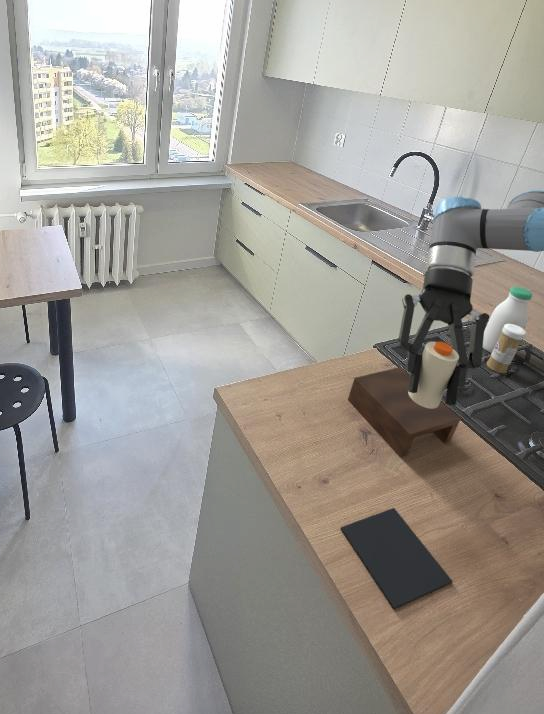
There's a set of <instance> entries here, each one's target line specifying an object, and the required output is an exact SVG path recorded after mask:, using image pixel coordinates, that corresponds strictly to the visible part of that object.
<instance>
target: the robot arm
mask: <svg viewBox="0 0 544 714" xmlns="http://www.w3.org/2000/svg"><path fill="white" fill-rule="evenodd" d="M431 223H432V225H431V234H430V242H429V246H428V247H429V248H428V254H427V259H426V266H425V269H426V271H425V272H424V276H423V284H422V289H421V292H420V294H418V295H411V293H410V294H409V293H407V294H405V295H404V296H403V297H402V299H401V301H402V307H403V313H402V318H401V324H400V328H399V329H400V330H399V332H398V333H399V334H398V339H397V347H398V348H400V349H402V350H403V351H405V352H406V353H407V356H406V362H405V363H406V364H405V371H406V372H408V373H409V372H410V375H411V378H410V385H409V391H408V392H411V393H417V390H418V383H419V376H420V370H421V363H422V354H419V353H418V352H419V350H420V349H421V348H422V345H423V343H424V341H425V339H426V337H427V335H428V333H429V331H430V329H431V327H432V325H433V323H434V322H435V321H436V322H437V321H438V322H442V323H444V324H446V325H447V327H448V328H447V329H448V330H449V333H450V335H449V336H450V341H451V347H452V348H453V349H454V350H455V351H456V352H457V353H458V355H459V359H458V362H457V364H456V366H455V369H454V371H453V373H452V376H451V378H450V380H449V383H448V385H447V387H446V396H445V404H444V405H448V406H456V405H457V397H458V390H459V388H464V387H465V385H466V381H467V380H466V379H467V371H468V370H469V369H471V370H472V369H477V368H481V366H482V359H483V350H484V348H483V338H484V331H485V328H486V326H487V324H488V322H489V319H490V315H489V314H488V313H486V312H483V313H481V312H480V311H478V310H476V309H474V306H473V304H472V302H471V297H472V290H473V282H474V280H473V276H474V273H475V266H476V265H475V264H476V256H477V250H478V249H484V250H485V249H487V250H505V251H506V250H507V251H524V252H525V251H528V252H535V253H539V252H544V190H541V189H540V190H539V189H538V190H537V189H531V190H526V191H524V192H522V193H520V194H518V195H516V196H515V197H514V198H512V199H511V201H510V202H509V204H508V205H507V207H506V208H489V209H488V208H482V205H481V203H480V202H479V201H478V200H476V199H474V198H471V197H463V196H457V195H456V196H450V197H445V198H444V199H441V200H440V201H439V202H438V203H437V205H436V207H435V211H434V216H433V218H432V222H431ZM418 303H419V305H420V306H421V308H422V309H423V311H424V313H425V314H424V316H423V317H422V320H421V323H420V325H419V327H418V329H417V330H416V333H415V335H414V337H413V338H412V340H411V343H410V342H409V340H410V335H411V329H412V324H413V317H414V313H415V307H417V306H418ZM468 315H469V317H470V320H469V321H470V322H471V323H472V324H471V327H470V336H469V337H470V339H469V345H468V346H469V347H468V355H467V349H466V344H465V338H464V337H465V336H464V333H463V318H465V317H467V316H468Z"/></svg>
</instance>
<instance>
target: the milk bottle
mask: <svg viewBox="0 0 544 714" xmlns="http://www.w3.org/2000/svg"><path fill="white" fill-rule="evenodd" d="M532 298H533V293H532V292H531V291H530V290H529V289H527V288H524V287H522V286H512V287H511V288H510V290H509V293H508V297H507V298H506V299H505V300H503V301H502V302H500V303H499V304H498V305H497V306H496V307H494V309H493V311H492V313H491V315H490V316H489V320H488V321H487V323H486V325H485V327H484V338H483V350H485V351H486V352H489V353H490V354H491V353H492V351H493V349H494V347H495V345H496V343H497V342H498V340H499V338H500V336H501V334H502V329H503V327H504V325H505V324H514V325H517V326H519V327H521V328H522V329H524V330H525V329H526V326H527V324H528V321H529V311H528V303H529V302H530V301H531V299H532Z"/></svg>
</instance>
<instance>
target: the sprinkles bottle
mask: <svg viewBox="0 0 544 714" xmlns="http://www.w3.org/2000/svg"><path fill="white" fill-rule="evenodd" d="M526 335H527V332H526V330H525V329H522V328H521V327H519V326H517V325H514V324H505V325H504V327H503V329H502V334H501V336H500V338H499V340H498V342H497V343H496V345H495V347H494V349H493V351H492V353H490V356H489V358H488V360H487V361H486V366H487V368H489V369H490V370H491V371H493V372H495V373H500V374H506V373H507V372H508V368H509V366H510V364H511V363H512V361H513V360H514V357H515V355H516V353H517V352H518V350H519V347H520V345H521V343H522V341H523V340H524V339H525V337H526Z"/></svg>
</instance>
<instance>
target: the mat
mask: <svg viewBox="0 0 544 714" xmlns="http://www.w3.org/2000/svg"><path fill="white" fill-rule="evenodd" d="M340 530H341V532H342V533H343V535H344V536H345V538H346V540H347V541H348V543H349V544H350V545H351V547H352V549H353V550H354V552H355V553H356V555H357V556H358V558H359V559H360V561H361V562H362V564H363V565H364V567H365V569H366V570H367V572H368V573H369V574H370V576H371V577H372V579H373V580H374V582H375V584H376V585H377V586H378V588H379V589H380V591H381V593H382V594H383V596H384V598H385V599H386V601H387V602H388V603H389V605H390V606H391V608H392V610H397V609H398V608H401V607H403V606H405V605H407V604H409V603H411V602H413V601H415V600H418V599H420V598H422V597H424V596H427V595H429V594H431V593H433V592H436V591H437V590H439V589H442V588H444V587H446V586H449V585H450V584H452V583H453V580H452V579H451V577H450V576H449V574H447V572H446V571H445V570H444V568H443V567H442V566H441V565H440V563H439V562H438V561H437V559H436V558H435V557H434V556H433V555H432V553H431V552H430V551H429V550H428V548H427V547H426V546H425V545H424V543H423V542H422V541H421V539H419V537H418V536H417V535H416V533H415V532H414V531H413V530H412V529H411V527H410V526H409V524H407V522H406V521H405V519H403V517H402V516H401V514H400V513H399V512H398V511H397V510H396V509H395V507H392V508H389V509H387V510H384V511H381V512H379V513H377V514H373V515H370V516H368V517H365V518H363V519H360V520H357V521H354V522H351V523H349V524H346V525H344V526H340Z"/></svg>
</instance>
